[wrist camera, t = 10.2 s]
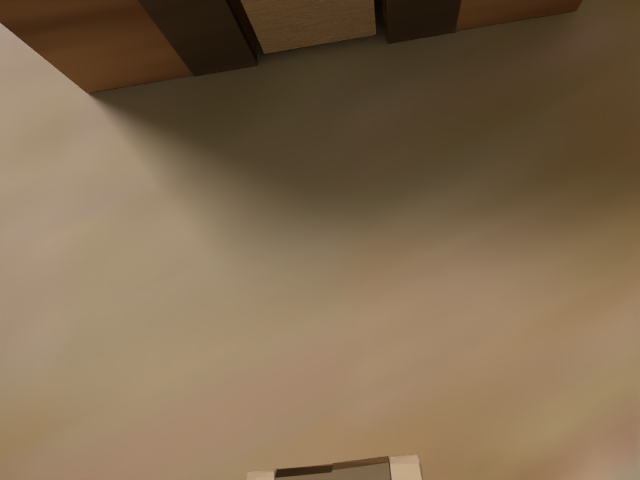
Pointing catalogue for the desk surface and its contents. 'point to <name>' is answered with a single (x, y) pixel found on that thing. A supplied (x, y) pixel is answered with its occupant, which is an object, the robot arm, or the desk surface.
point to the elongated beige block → (308, 22)
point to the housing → (206, 33)
